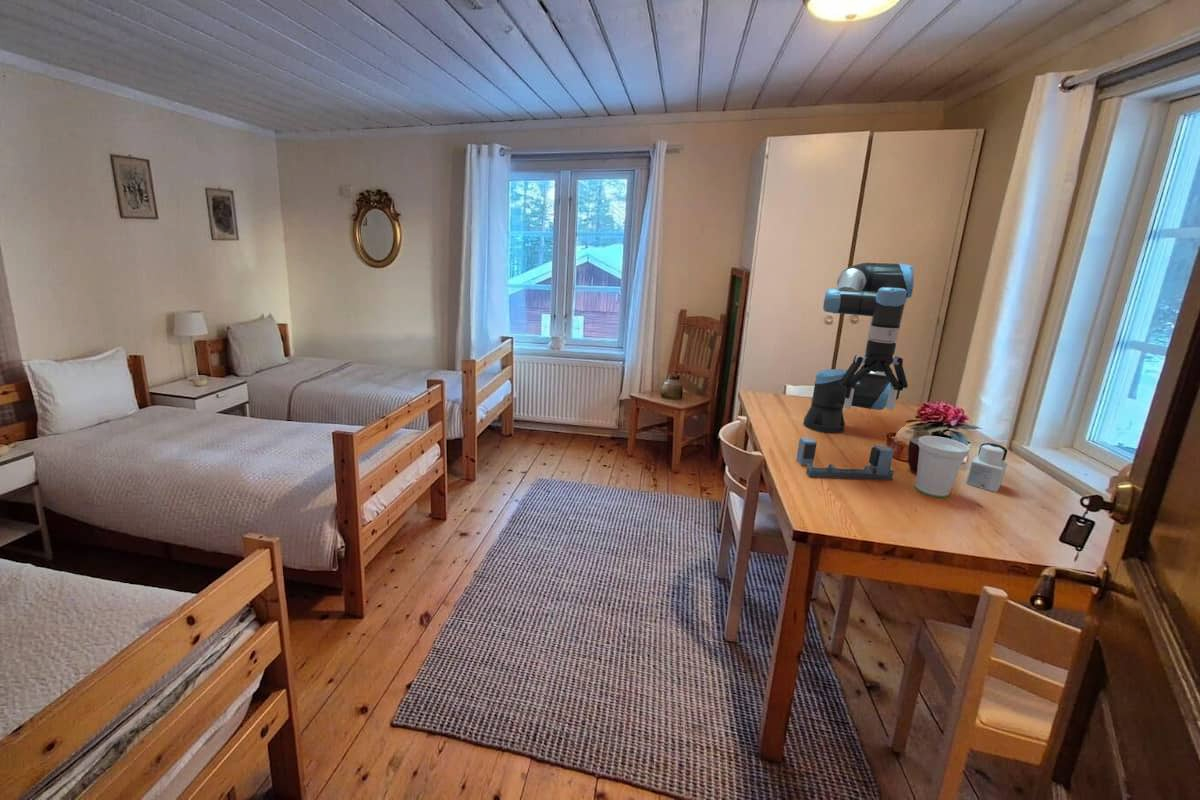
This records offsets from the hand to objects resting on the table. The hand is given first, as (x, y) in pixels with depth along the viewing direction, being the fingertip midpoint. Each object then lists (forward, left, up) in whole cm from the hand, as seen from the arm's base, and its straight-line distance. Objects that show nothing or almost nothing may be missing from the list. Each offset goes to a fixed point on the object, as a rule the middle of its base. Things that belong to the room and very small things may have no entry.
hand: (868, 408), depth 156 cm
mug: (0, +20, -21) cm, 29 cm away
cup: (+13, +16, -21) cm, 30 cm away
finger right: (-5, -15, -21) cm, 26 cm away
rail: (+5, -5, -21) cm, 22 cm away
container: (+7, +36, -21) cm, 43 cm away
